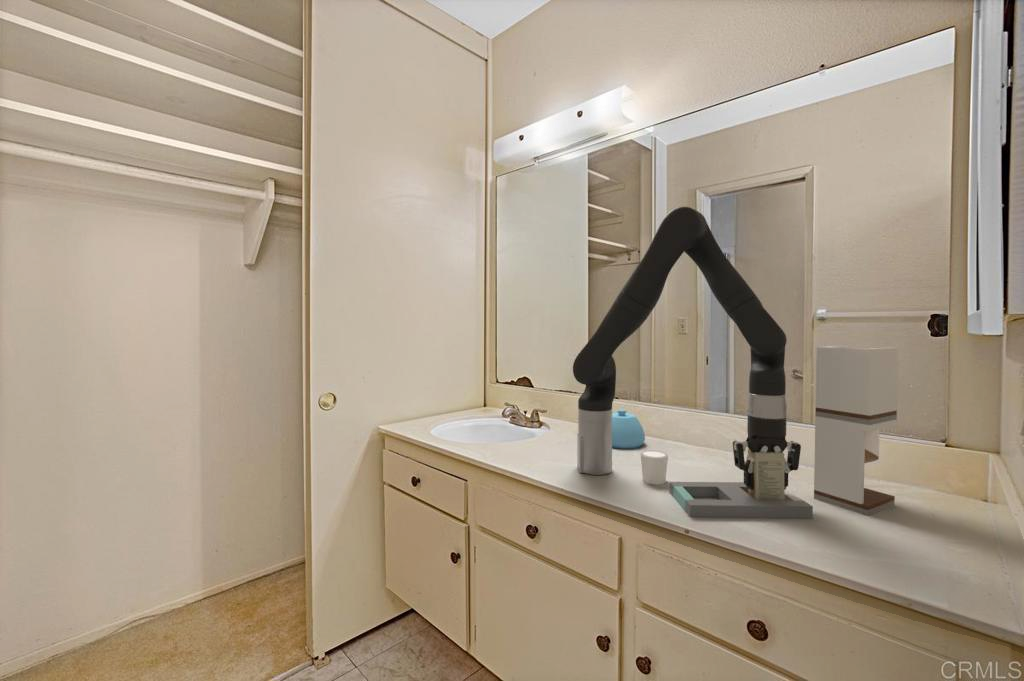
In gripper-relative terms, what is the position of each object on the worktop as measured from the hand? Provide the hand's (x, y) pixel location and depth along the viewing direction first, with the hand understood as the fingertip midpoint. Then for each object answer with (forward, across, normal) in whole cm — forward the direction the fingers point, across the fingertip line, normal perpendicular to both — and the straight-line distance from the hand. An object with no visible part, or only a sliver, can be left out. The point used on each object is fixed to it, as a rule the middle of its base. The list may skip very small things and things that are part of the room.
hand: (765, 487), depth 100 cm
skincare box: (+4, 0, 0) cm, 4 cm away
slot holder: (+4, -7, 0) cm, 8 cm away
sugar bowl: (+4, -22, +51) cm, 56 cm away
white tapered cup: (+4, -21, +15) cm, 26 cm away
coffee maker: (+4, +20, +2) cm, 21 cm away
